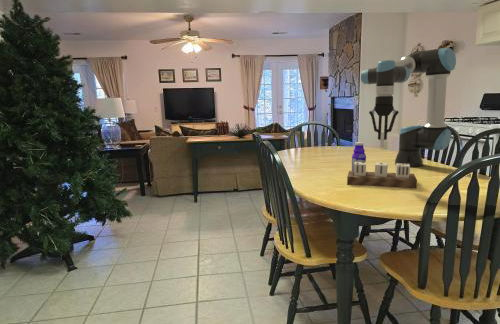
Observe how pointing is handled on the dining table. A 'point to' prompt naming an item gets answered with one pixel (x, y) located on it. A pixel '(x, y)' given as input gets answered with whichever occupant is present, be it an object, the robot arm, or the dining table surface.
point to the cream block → (381, 169)
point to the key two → (360, 168)
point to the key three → (402, 170)
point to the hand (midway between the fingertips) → (381, 146)
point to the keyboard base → (382, 180)
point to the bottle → (358, 154)
